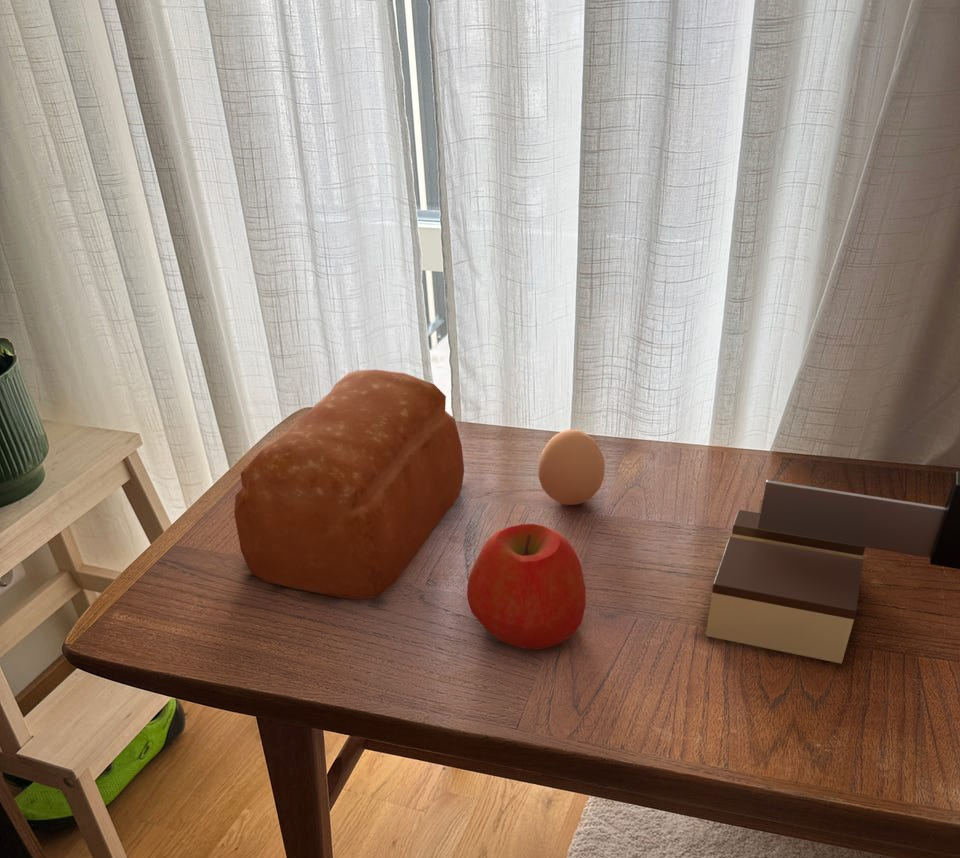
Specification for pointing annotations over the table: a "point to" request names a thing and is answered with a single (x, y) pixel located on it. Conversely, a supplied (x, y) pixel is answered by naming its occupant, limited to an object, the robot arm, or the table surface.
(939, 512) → the knife
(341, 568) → the bread
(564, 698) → the table surface
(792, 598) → the cake
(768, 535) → the cake slice
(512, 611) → the apple
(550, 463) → the egg
